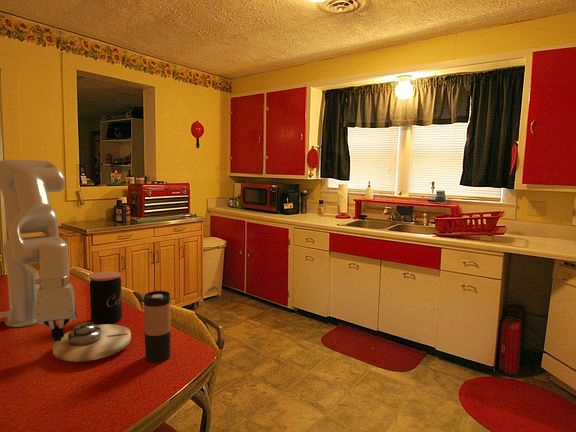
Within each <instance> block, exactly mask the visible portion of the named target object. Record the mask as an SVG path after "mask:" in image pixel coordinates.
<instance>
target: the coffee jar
mask: <svg viewBox="0 0 576 432" xmlns="http://www.w3.org/2000/svg"><path fill="white" fill-rule="evenodd" d="M121 276H122V274H121V272H120V271H116V270H103V271H98V272H94V273H92V274H90V275H89V280H90V281H89V299H90V301H89V304H90V306H89V307H90V320H91V322H92V323H95V325H104V324H112V325H115V324H117V323H119V322H120V321H121V319H122V317H123V303H122V302H123V301H122V300H123V298H122V296H123V295H122V279H121V278H120V277H121Z"/></svg>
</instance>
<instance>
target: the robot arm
mask: <svg viewBox="0 0 576 432" xmlns="http://www.w3.org/2000/svg"><path fill="white" fill-rule="evenodd" d="M65 186H66V179H65V175H64V173H63V172H62V169H60V168H59V167H58V166H57V165H56V164H54V163H53V162H51V161H48V160H33V159H32V160H30V159H3V160H0V191H1V194H2V197H3V204H4V205H3V208H4V217H5V225H6V229H7V231H8V240H7V241H5V242H4V244H3V246H2V253H3V254H2V255H3V257H4V261H5V262H4V263H5V265H6V266H5V267H6V274H7V275H6V276H7V286H8V301H9V303H8V304H9V310H6V311H0V320H1V319H6V320H5V325H6V326H7V327H11V328H20V327H28V326H32V325H35V324H36V325H37V324H39V325H46V326H47V327H49V329H50V330H51V339H53V343H54V342H56V341H57V340H58V341H61V339H62V337H64V334H65V326H66V325H67V324H68V323H69V322H73V321H75V320H77V318H78V315H77V303H76V294H75V289H74V286H73V284H72V283H71V281H70V280H71V279H70V278H71V277H70V260H69V257H70V256H69V245H68V243H67V242H66V241H65V240H64V239H63V238H62V237H60V234H59V232H60V231H59V221H58V215H57V213H56V211H55V210H54V209H53V207H52V203H51V201H50V195H49V193H60V192H62V191H63V190H64V189H65ZM35 233H41V234H42V235H37V236H25V237H24V236H23V237H22V235H23V234H35ZM37 263H39V271H38V270H37V269H36V268H35V267H34V266H32V265H31V264H37ZM56 321H58V322H59V323H58V324H57V322H56Z"/></svg>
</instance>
